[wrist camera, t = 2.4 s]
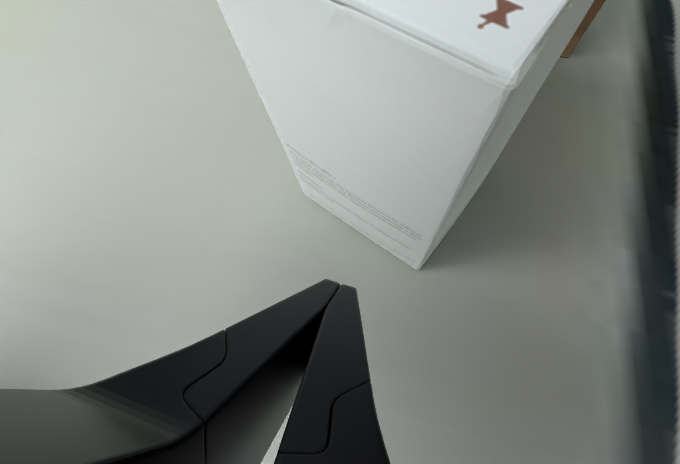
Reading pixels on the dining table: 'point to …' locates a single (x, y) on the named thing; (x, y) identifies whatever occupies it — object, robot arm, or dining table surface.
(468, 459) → the dining table surface
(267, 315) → the robot arm
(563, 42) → the supplement box
